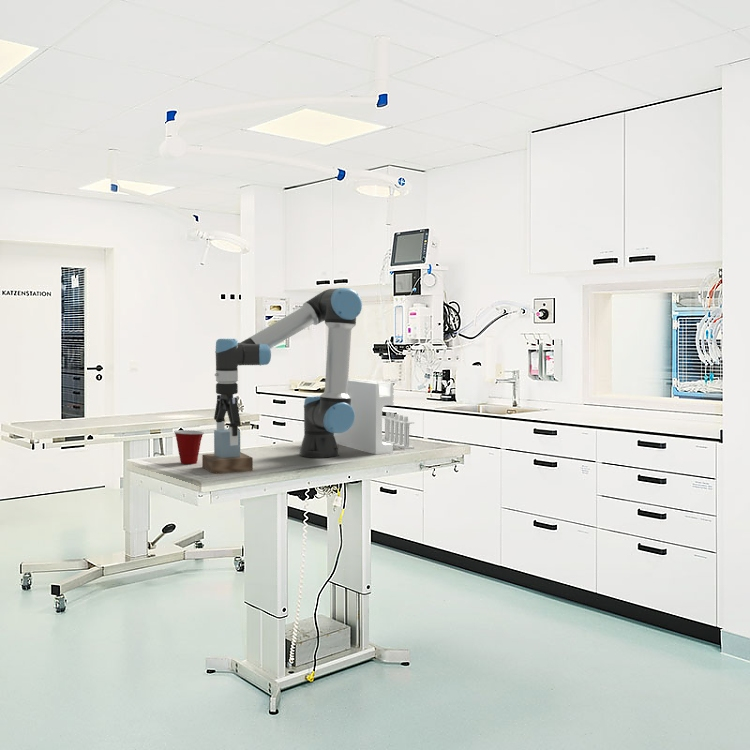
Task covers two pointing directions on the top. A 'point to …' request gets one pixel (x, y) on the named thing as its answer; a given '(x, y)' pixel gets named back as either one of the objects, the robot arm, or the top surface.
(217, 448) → the slate block
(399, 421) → the test tube rack
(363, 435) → the block
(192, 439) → the plastic cup
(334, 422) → the robot arm
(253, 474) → the top surface
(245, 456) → the walnut block
